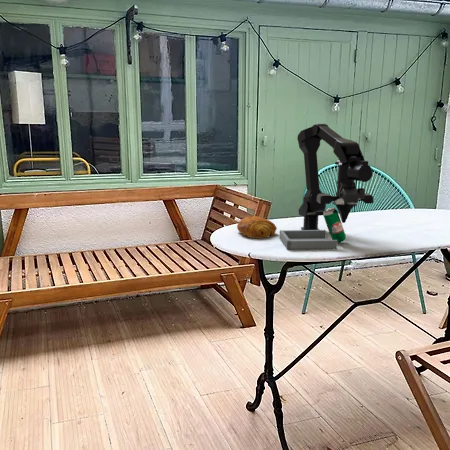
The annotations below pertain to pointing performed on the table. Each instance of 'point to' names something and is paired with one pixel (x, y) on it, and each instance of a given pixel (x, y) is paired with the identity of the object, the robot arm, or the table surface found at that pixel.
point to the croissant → (256, 227)
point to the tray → (306, 240)
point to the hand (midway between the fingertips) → (343, 222)
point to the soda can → (334, 224)
